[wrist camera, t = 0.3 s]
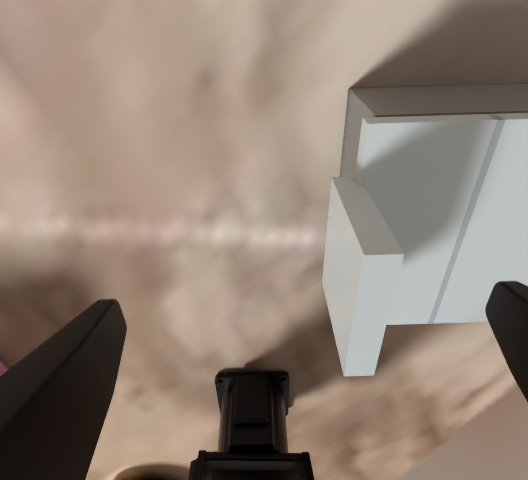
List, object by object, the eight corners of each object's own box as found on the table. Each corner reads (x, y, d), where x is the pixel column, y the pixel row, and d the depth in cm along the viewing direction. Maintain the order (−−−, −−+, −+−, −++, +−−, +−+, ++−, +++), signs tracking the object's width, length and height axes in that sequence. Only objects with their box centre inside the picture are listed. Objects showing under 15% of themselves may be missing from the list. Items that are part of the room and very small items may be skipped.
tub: (533, 252, 25) (589, 303, 20) (331, 258, 25) (346, 311, 20) (620, 80, 18) (725, 105, 14) (348, 88, 18) (375, 115, 14)
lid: (593, 307, 20) (694, 400, 16) (319, 316, 20) (337, 411, 16) (733, 106, 14) (970, 161, 9) (336, 118, 14) (376, 178, 9)
